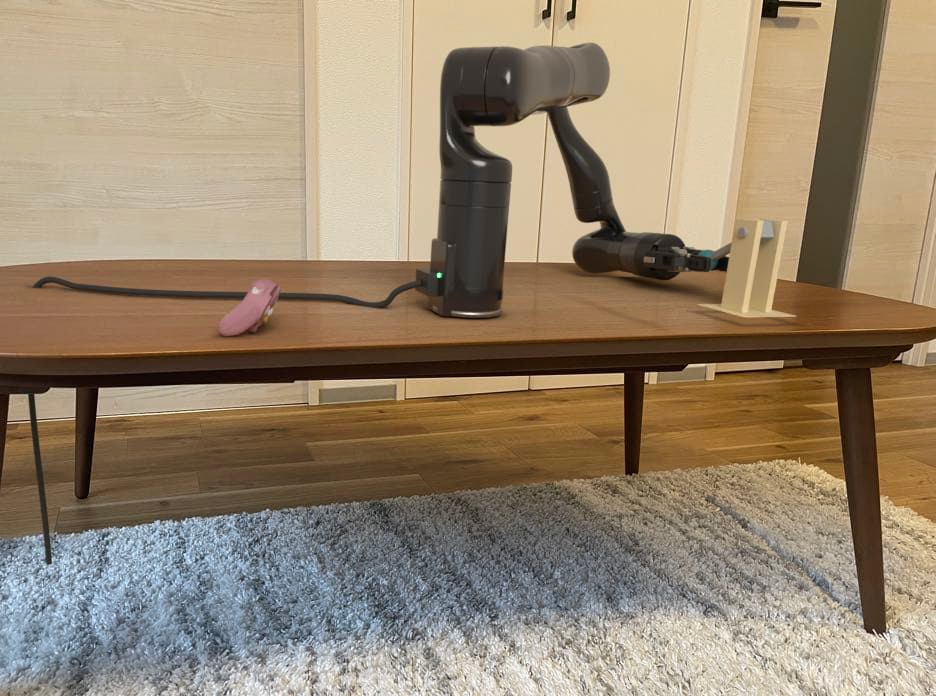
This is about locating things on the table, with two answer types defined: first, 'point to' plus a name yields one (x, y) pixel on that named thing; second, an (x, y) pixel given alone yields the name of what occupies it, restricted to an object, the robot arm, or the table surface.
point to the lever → (715, 255)
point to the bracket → (752, 270)
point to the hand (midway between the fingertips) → (719, 264)
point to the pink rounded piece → (251, 309)
